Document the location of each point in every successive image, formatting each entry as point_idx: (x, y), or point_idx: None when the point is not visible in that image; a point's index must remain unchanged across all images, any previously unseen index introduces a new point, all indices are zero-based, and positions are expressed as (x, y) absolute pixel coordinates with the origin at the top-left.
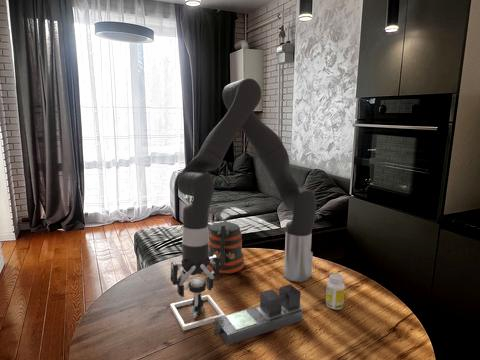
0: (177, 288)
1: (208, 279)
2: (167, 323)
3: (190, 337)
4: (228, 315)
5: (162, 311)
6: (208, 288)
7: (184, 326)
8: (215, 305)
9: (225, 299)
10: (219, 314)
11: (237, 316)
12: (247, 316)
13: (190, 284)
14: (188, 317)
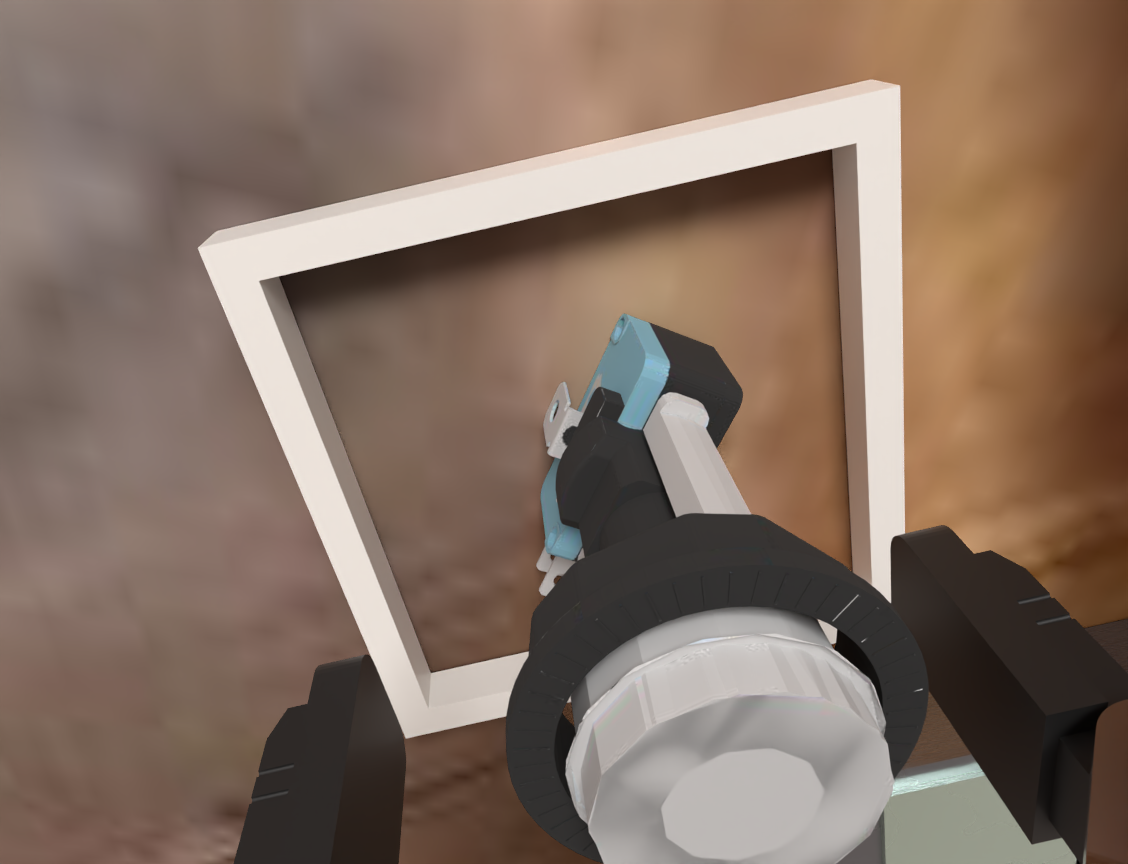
0: (251, 817)
1: (1023, 780)
2: (218, 569)
3: (473, 782)
4: (920, 792)
5: (100, 306)
6: (908, 620)
7: (418, 734)
8: (877, 430)
9: (1090, 193)
10: (855, 540)
11: (999, 814)
12: None
13: (564, 685)
14: (481, 505)
